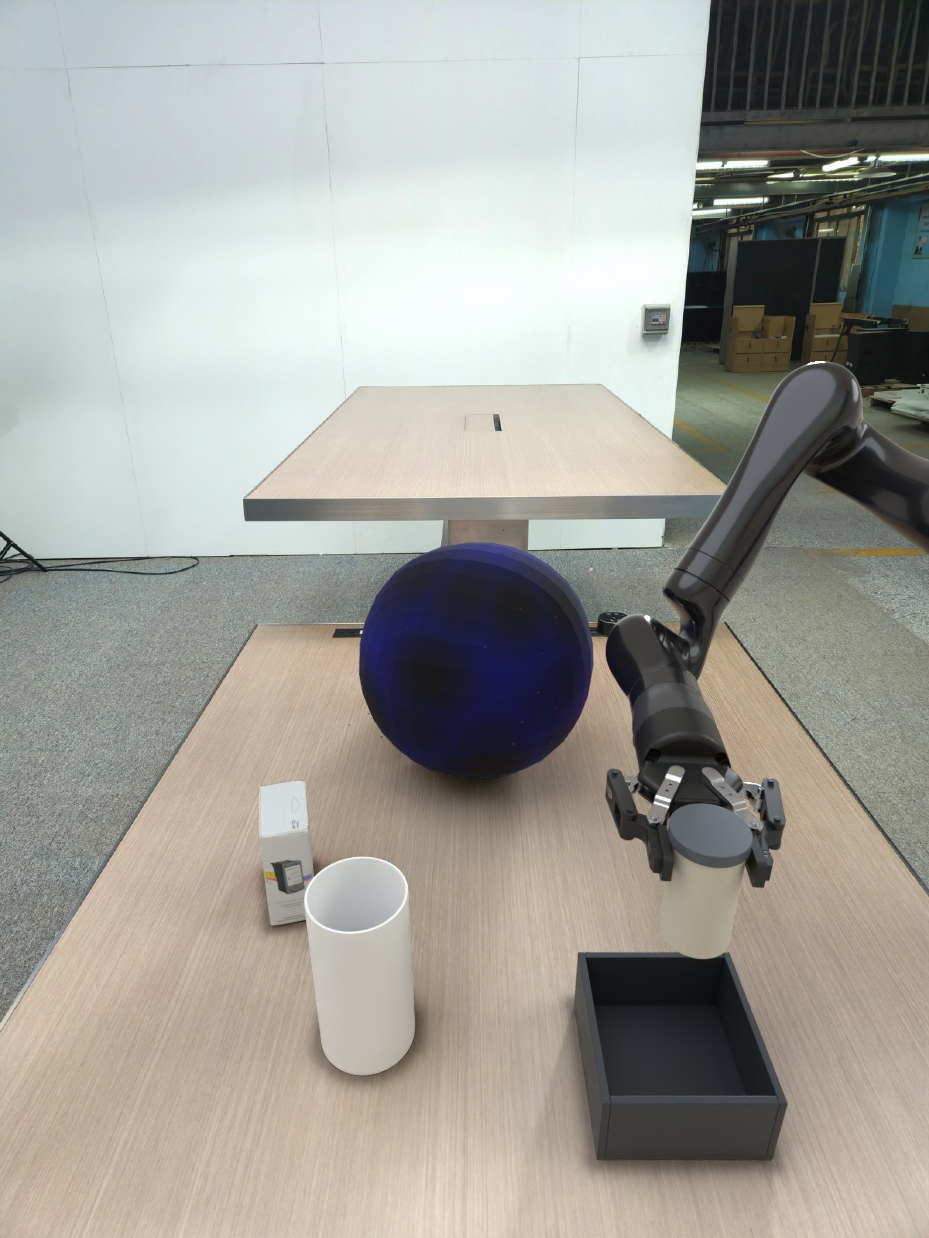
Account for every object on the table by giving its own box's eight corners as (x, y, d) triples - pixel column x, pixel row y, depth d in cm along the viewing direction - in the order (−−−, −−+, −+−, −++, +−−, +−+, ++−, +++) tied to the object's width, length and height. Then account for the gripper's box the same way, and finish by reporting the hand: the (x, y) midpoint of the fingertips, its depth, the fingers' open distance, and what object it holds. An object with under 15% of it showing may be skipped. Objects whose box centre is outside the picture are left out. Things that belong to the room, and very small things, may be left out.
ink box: (268, 869, 84) (255, 783, 79) (314, 861, 85) (304, 776, 80) (269, 929, 76) (255, 838, 71) (320, 920, 77) (309, 829, 72)
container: (720, 901, 61) (738, 803, 57) (743, 961, 56) (765, 857, 51) (648, 901, 61) (661, 802, 57) (665, 961, 56) (680, 857, 51)
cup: (403, 1082, 62) (394, 940, 55) (307, 1067, 63) (287, 926, 56) (423, 996, 69) (418, 861, 62) (337, 984, 70) (323, 851, 63)
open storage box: (719, 1004, 68) (729, 951, 65) (772, 1159, 56) (788, 1103, 53) (573, 1004, 68) (577, 951, 65) (596, 1159, 56) (602, 1103, 53)
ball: (296, 791, 97) (269, 574, 84) (394, 678, 123) (384, 501, 111) (560, 850, 86) (574, 612, 74) (604, 713, 113) (619, 522, 101)
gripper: (599, 700, 67) (614, 827, 52) (765, 708, 65) (831, 840, 50) (593, 769, 70) (606, 908, 55) (751, 778, 69) (810, 922, 53)
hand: (714, 874), depth 53 cm, fingers closed on container, 5 cm apart
